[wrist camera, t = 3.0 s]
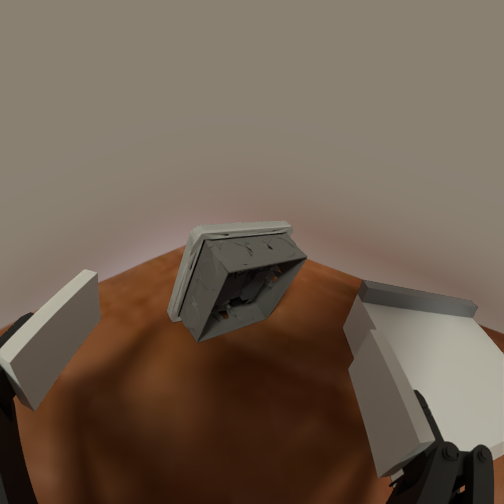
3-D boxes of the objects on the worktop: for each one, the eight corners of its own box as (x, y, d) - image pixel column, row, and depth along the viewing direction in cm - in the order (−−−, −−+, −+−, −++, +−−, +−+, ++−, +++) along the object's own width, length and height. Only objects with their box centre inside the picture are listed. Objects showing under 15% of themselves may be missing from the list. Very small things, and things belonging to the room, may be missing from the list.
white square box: (450, 338, 27) (471, 300, 25) (518, 445, 10) (557, 402, 8) (342, 327, 26) (363, 279, 24) (395, 497, 9) (457, 452, 7)
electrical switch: (248, 296, 28) (275, 212, 24) (282, 328, 25) (320, 239, 21) (164, 318, 22) (178, 215, 18) (196, 363, 19) (220, 253, 15)
